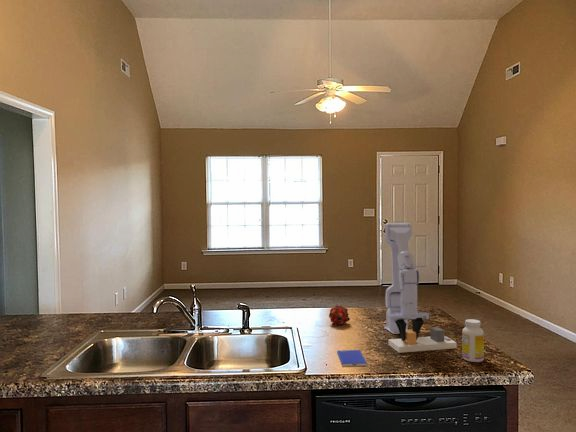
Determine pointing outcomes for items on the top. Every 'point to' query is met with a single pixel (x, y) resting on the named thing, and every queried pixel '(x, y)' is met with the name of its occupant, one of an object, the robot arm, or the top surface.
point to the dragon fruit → (339, 315)
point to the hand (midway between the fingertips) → (409, 339)
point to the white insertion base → (425, 342)
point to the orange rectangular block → (410, 337)
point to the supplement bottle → (473, 341)
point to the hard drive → (351, 358)
